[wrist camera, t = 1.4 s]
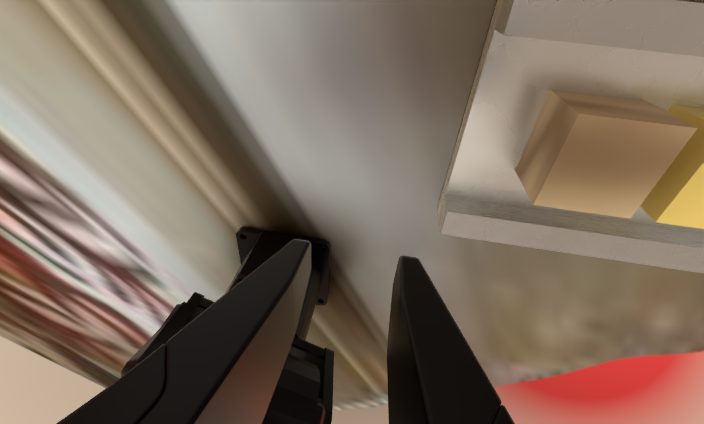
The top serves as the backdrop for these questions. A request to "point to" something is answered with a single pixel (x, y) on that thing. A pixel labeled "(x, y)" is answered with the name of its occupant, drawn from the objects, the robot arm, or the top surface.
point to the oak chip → (599, 152)
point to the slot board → (578, 77)
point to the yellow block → (682, 179)
